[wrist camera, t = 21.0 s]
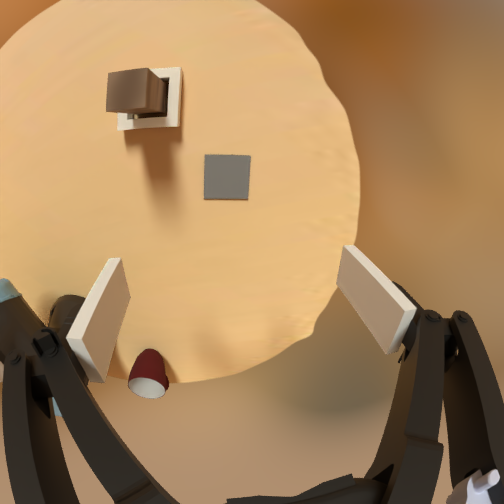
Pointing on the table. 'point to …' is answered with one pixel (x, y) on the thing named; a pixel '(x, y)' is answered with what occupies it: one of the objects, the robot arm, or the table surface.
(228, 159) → the mat
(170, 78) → the socket block
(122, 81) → the peg
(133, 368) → the mug
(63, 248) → the table surface
